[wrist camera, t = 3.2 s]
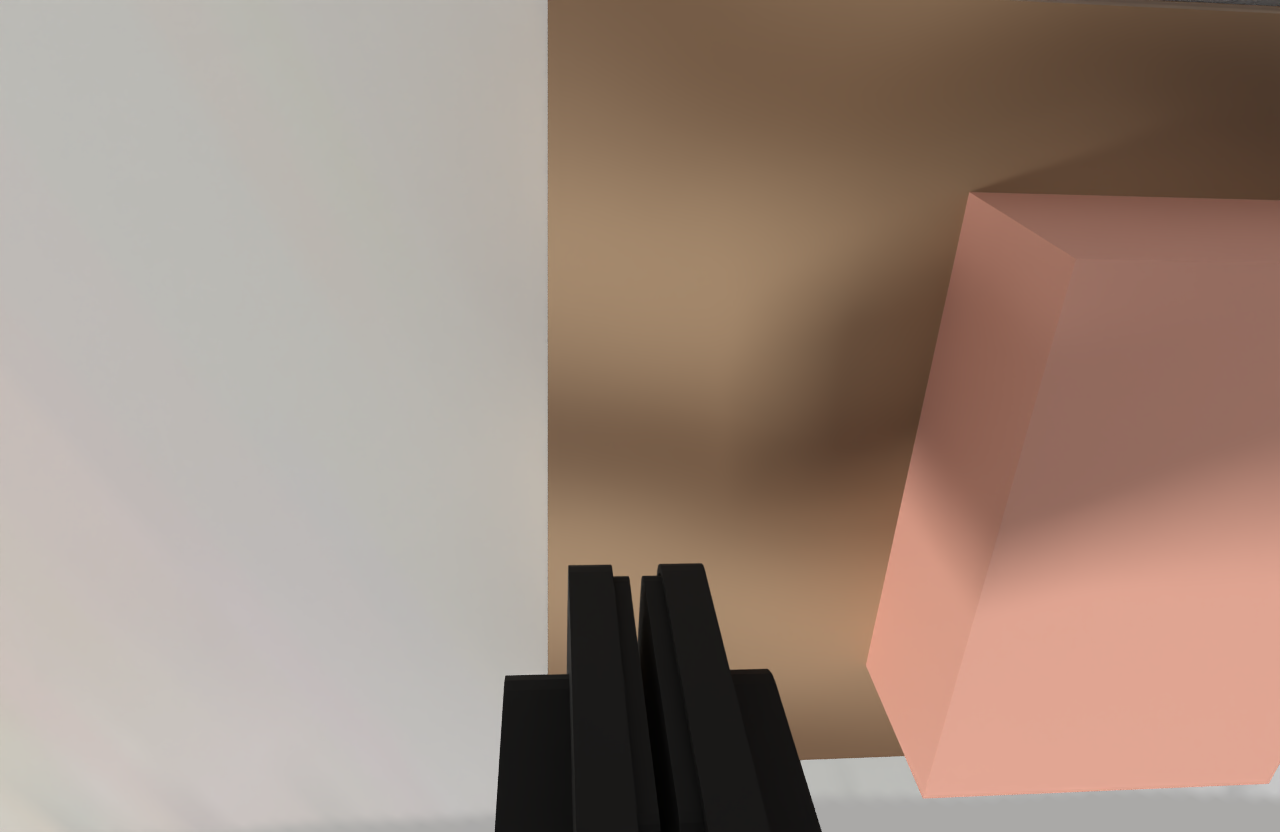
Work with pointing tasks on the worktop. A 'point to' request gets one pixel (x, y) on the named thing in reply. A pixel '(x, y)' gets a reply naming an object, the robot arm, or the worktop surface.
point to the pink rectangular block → (1093, 504)
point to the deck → (823, 272)
